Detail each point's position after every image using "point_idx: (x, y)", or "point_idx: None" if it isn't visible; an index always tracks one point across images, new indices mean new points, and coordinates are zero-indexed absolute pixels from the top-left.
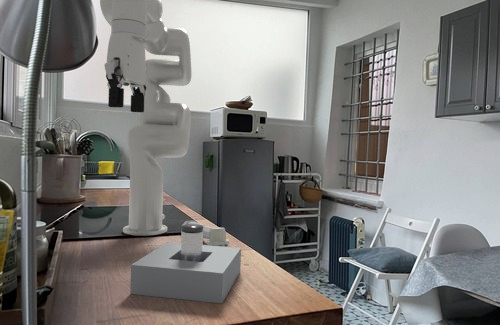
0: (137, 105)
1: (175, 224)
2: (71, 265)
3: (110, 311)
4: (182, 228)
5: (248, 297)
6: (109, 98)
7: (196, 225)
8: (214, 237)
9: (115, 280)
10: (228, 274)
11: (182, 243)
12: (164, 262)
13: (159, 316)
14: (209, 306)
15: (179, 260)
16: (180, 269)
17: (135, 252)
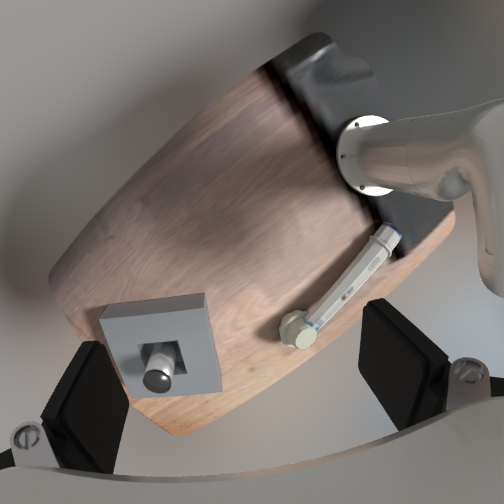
0: (376, 366)
1: None
2: (148, 173)
3: (75, 309)
4: (144, 375)
5: None
6: (69, 373)
7: (163, 386)
8: (288, 334)
9: (129, 267)
10: None
11: (147, 364)
12: (124, 345)
13: None
14: None
15: (139, 355)
16: (117, 366)
17: (243, 216)
